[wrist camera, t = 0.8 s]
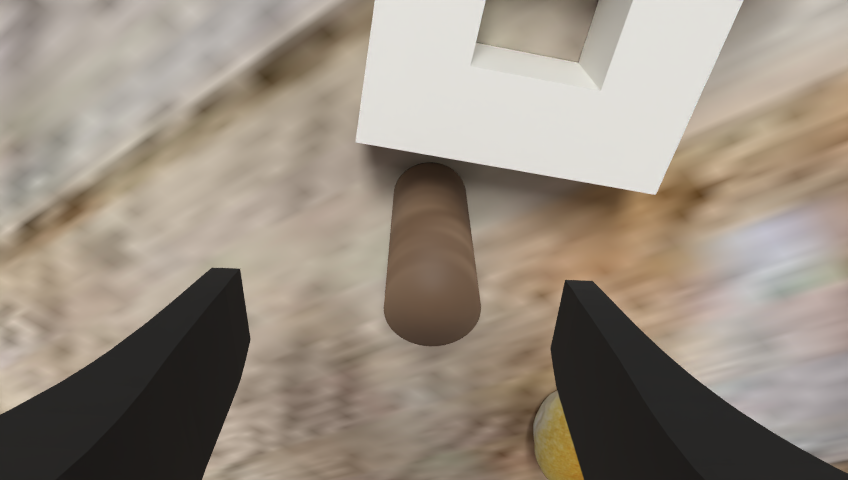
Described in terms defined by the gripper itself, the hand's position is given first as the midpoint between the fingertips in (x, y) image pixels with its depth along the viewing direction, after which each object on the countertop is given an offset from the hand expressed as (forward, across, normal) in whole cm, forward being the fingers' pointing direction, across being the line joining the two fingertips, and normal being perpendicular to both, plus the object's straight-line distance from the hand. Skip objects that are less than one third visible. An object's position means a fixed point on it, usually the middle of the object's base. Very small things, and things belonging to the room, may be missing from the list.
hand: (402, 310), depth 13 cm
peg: (+10, -1, +2) cm, 10 cm away
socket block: (+10, -4, -5) cm, 12 cm away
